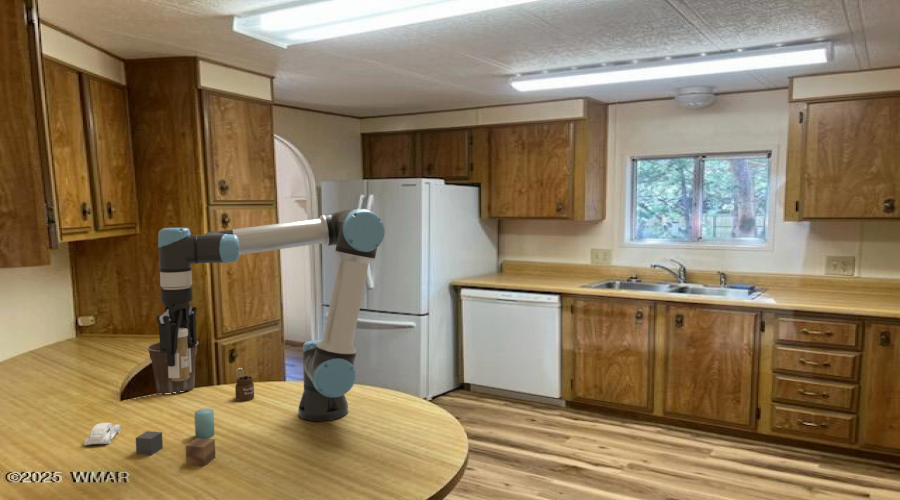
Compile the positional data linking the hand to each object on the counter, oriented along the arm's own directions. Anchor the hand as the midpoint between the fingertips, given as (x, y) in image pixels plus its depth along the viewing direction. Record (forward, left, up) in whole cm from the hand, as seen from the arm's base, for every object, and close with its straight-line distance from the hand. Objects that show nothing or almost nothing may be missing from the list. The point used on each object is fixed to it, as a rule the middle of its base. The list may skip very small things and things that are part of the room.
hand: (180, 374), depth 158 cm
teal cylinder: (0, -10, -21) cm, 23 cm away
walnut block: (-8, +5, -21) cm, 23 cm away
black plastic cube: (+9, +2, -21) cm, 22 cm away
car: (+27, -3, -21) cm, 34 cm away
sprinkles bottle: (0, 0, -1) cm, 1 cm away
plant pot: (+34, -45, -21) cm, 60 cm away
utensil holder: (+5, -41, -21) cm, 46 cm away
